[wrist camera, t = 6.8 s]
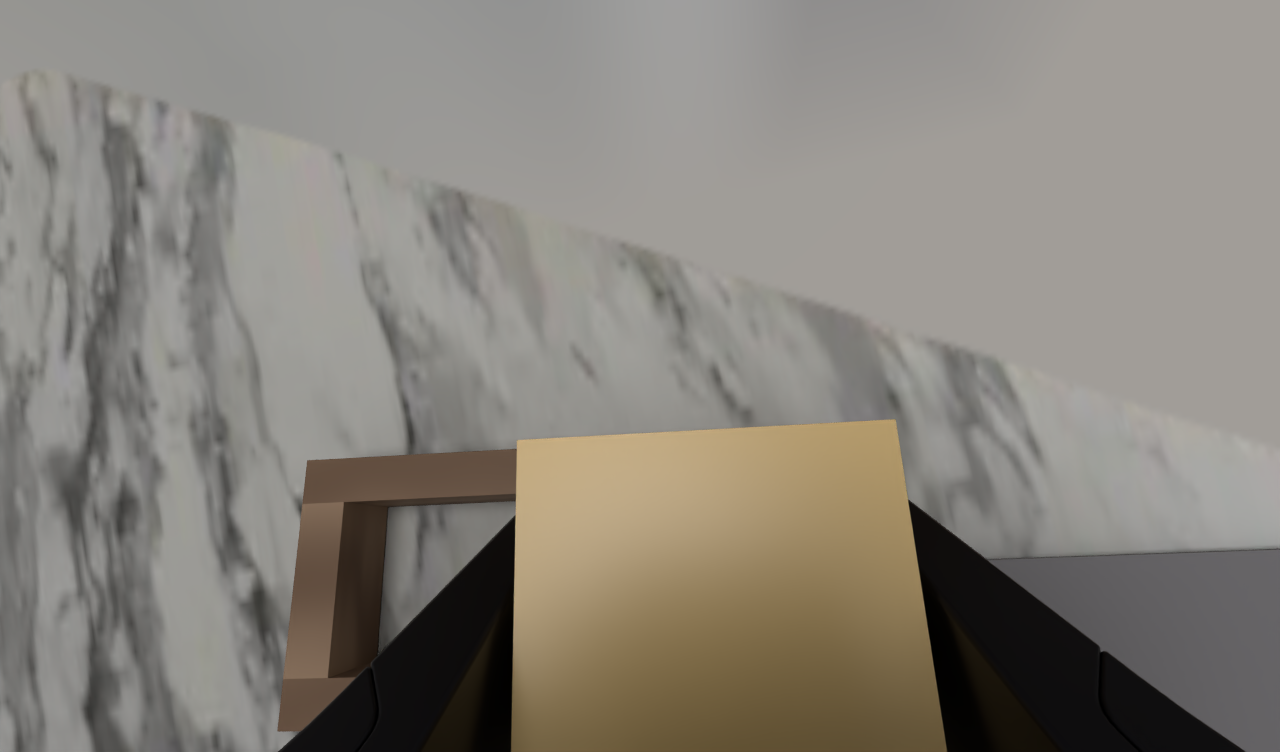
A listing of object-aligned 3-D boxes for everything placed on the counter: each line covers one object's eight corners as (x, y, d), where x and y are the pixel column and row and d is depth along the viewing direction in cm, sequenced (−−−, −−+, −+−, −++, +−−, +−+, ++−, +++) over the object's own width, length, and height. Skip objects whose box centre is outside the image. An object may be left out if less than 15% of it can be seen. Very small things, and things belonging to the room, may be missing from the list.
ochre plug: (809, 680, 14) (967, 880, 6) (622, 684, 15) (508, 876, 6) (789, 489, 16) (895, 419, 7) (617, 497, 16) (516, 440, 7)
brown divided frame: (843, 698, 20) (866, 723, 17) (333, 706, 22) (277, 731, 19) (814, 445, 23) (830, 431, 20) (354, 470, 24) (307, 460, 21)
